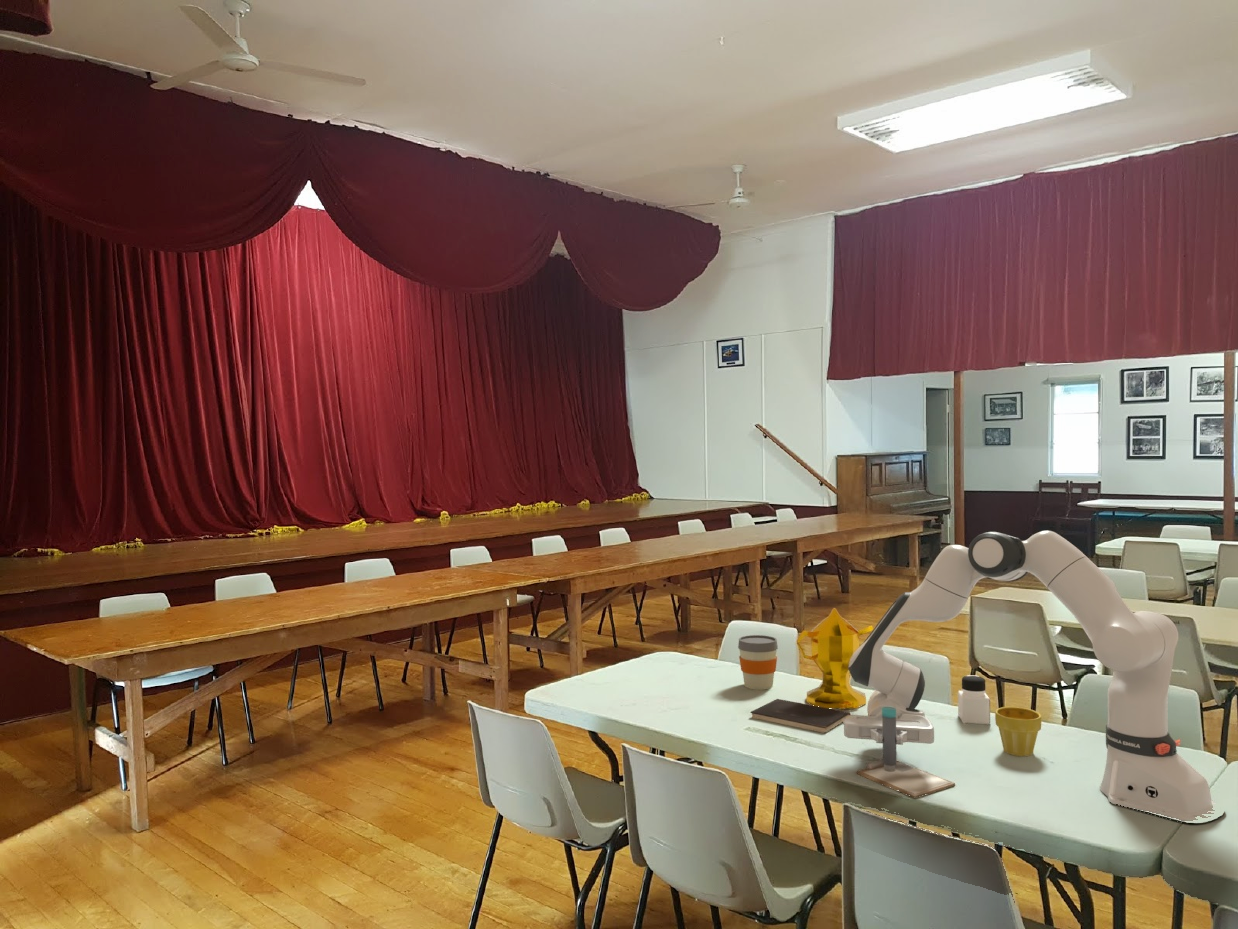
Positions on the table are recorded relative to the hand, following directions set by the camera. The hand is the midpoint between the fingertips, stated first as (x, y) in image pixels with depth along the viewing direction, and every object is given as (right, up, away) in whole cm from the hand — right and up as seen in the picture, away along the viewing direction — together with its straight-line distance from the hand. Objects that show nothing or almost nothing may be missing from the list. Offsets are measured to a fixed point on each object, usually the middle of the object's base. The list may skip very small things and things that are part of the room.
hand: (889, 740), depth 195 cm
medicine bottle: (+37, -8, +43) cm, 57 cm away
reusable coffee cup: (-17, -9, +81) cm, 83 cm away
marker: (0, -7, +1) cm, 7 cm away
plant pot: (+38, -9, +18) cm, 42 cm away
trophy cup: (+4, -9, +62) cm, 62 cm away
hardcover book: (-10, -10, +48) cm, 50 cm away
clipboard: (+4, -9, +2) cm, 10 cm away
